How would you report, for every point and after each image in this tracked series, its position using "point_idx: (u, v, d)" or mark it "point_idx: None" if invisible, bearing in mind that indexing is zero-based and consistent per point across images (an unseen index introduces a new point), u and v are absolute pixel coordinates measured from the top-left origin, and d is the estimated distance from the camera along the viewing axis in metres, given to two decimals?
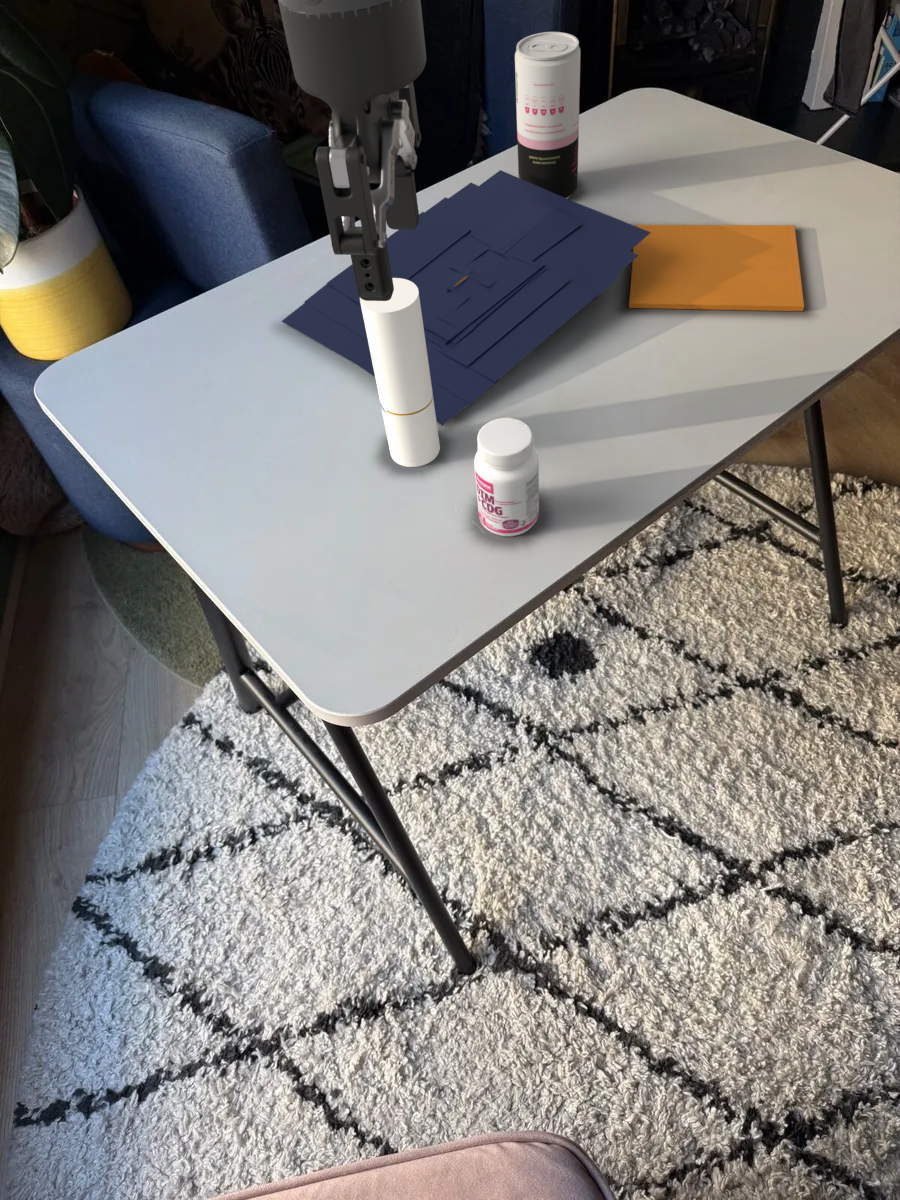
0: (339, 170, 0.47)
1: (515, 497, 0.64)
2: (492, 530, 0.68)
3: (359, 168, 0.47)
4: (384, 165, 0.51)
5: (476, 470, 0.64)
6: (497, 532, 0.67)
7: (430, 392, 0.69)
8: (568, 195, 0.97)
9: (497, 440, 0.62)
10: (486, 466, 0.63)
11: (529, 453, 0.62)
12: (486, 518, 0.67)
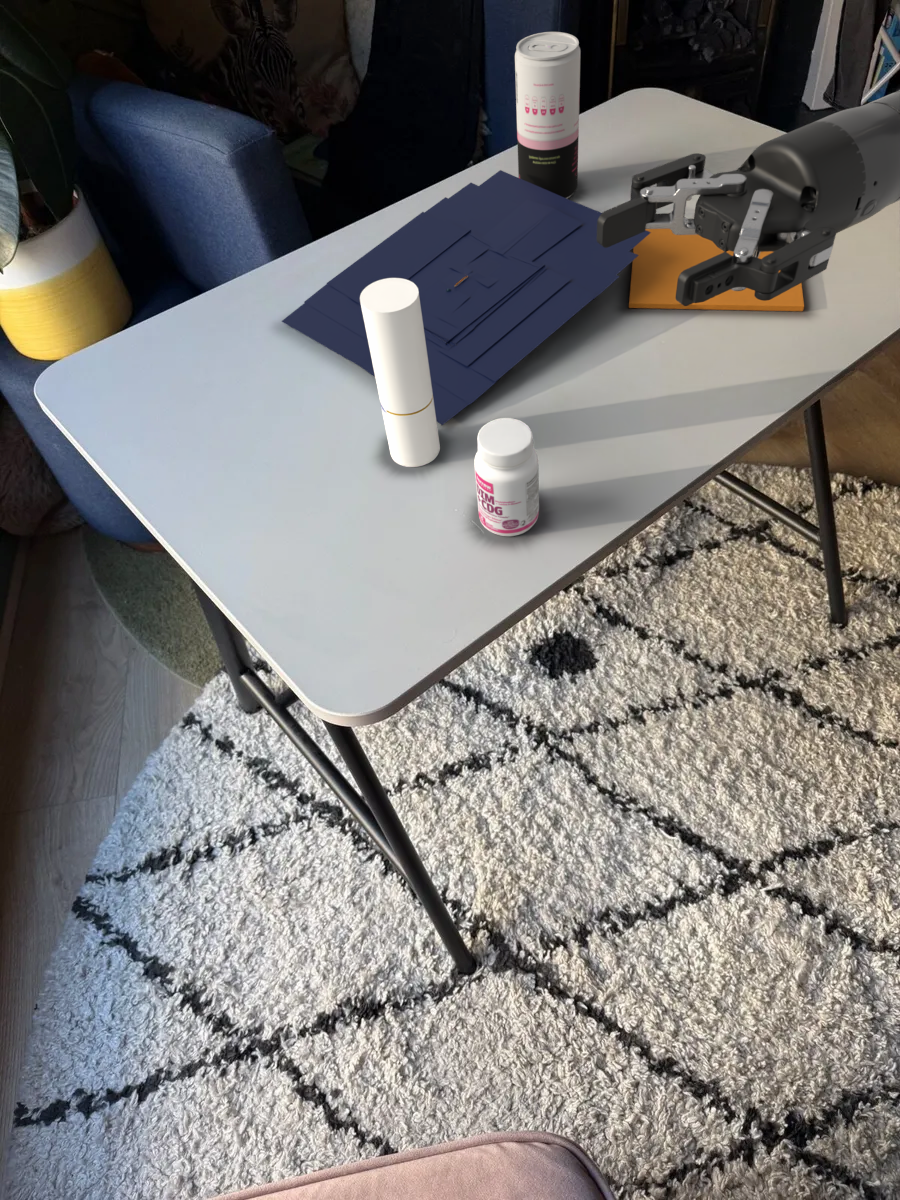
0: None
1: (515, 497, 0.64)
2: (492, 530, 0.68)
3: (688, 156, 0.63)
4: None
5: (476, 470, 0.64)
6: (497, 532, 0.67)
7: (430, 392, 0.69)
8: (568, 195, 0.97)
9: (497, 440, 0.62)
10: (486, 466, 0.63)
11: (529, 453, 0.62)
12: (486, 518, 0.67)
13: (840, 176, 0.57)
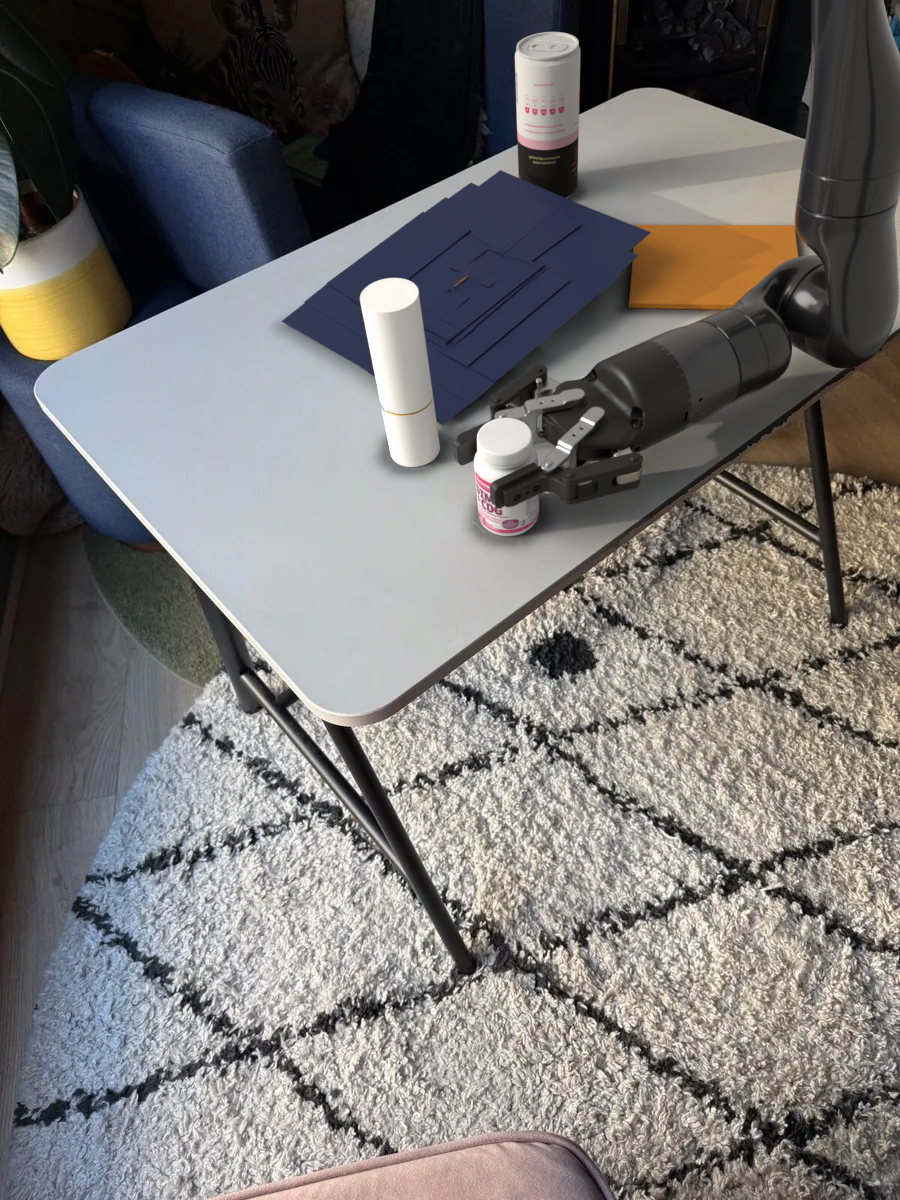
0: None
1: None
2: (492, 530, 0.68)
3: (531, 368, 0.69)
4: None
5: (476, 470, 0.64)
6: (497, 532, 0.67)
7: (430, 392, 0.69)
8: (568, 195, 0.97)
9: (496, 440, 0.62)
10: (486, 466, 0.63)
11: (529, 453, 0.62)
12: (486, 518, 0.67)
13: (665, 397, 0.64)
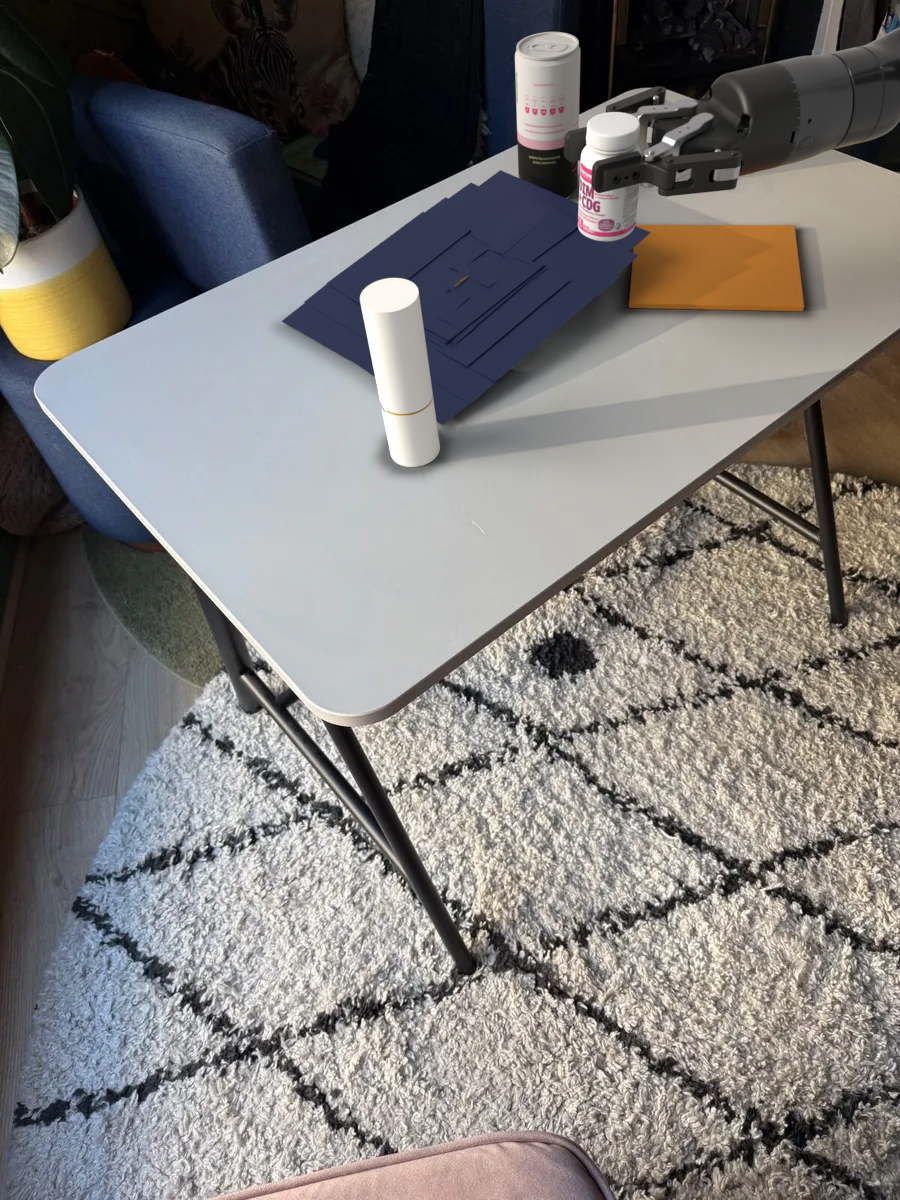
0: None
1: (614, 190, 0.68)
2: (588, 234, 0.72)
3: (651, 88, 0.72)
4: None
5: (581, 160, 0.68)
6: (592, 235, 0.72)
7: (430, 392, 0.69)
8: (568, 195, 0.97)
9: (605, 125, 0.66)
10: (591, 154, 0.67)
11: (634, 141, 0.66)
12: (584, 220, 0.71)
13: (775, 109, 0.66)
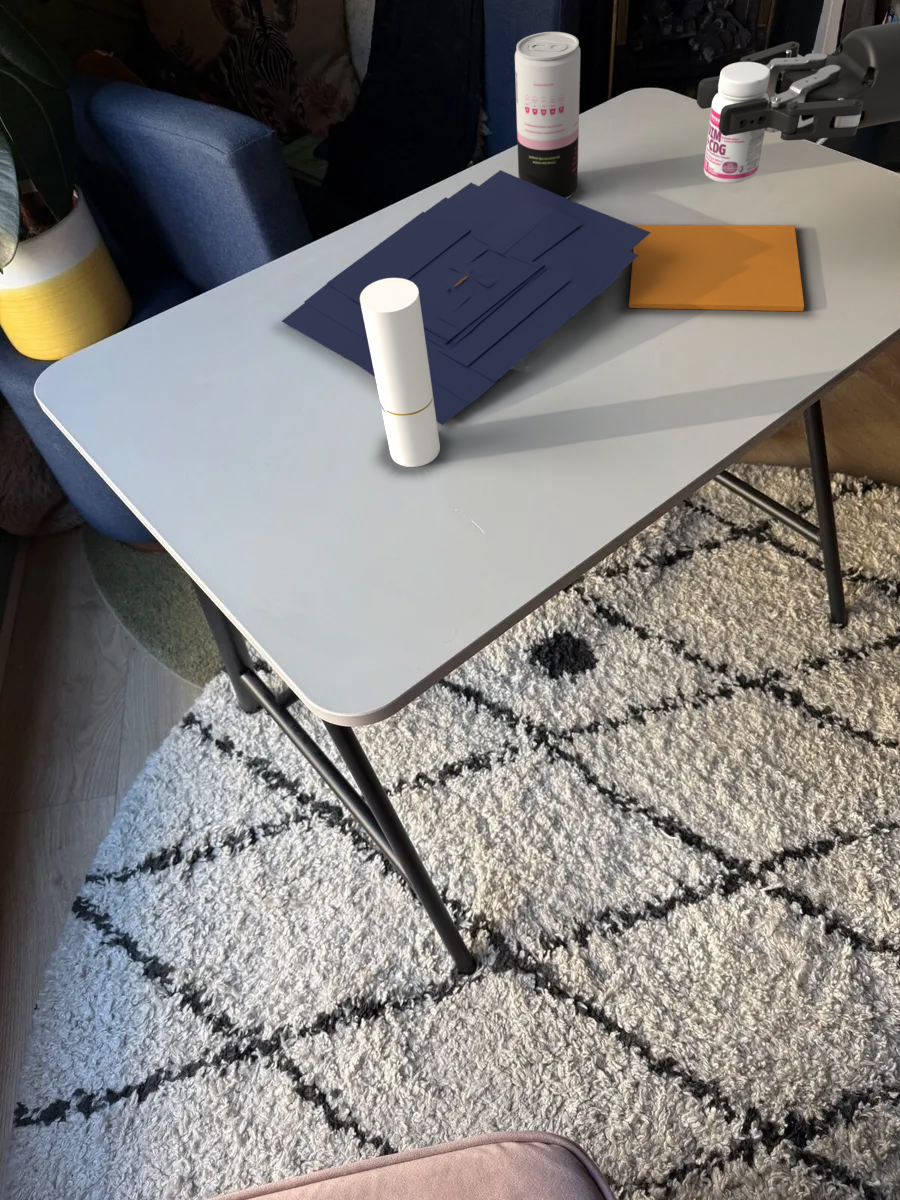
0: None
1: (739, 134, 0.75)
2: (712, 176, 0.78)
3: (785, 43, 0.78)
4: None
5: (712, 106, 0.75)
6: (716, 177, 0.78)
7: (430, 392, 0.69)
8: (568, 195, 0.97)
9: (737, 73, 0.73)
10: (722, 99, 0.74)
11: (762, 88, 0.72)
12: (709, 162, 0.78)
13: None
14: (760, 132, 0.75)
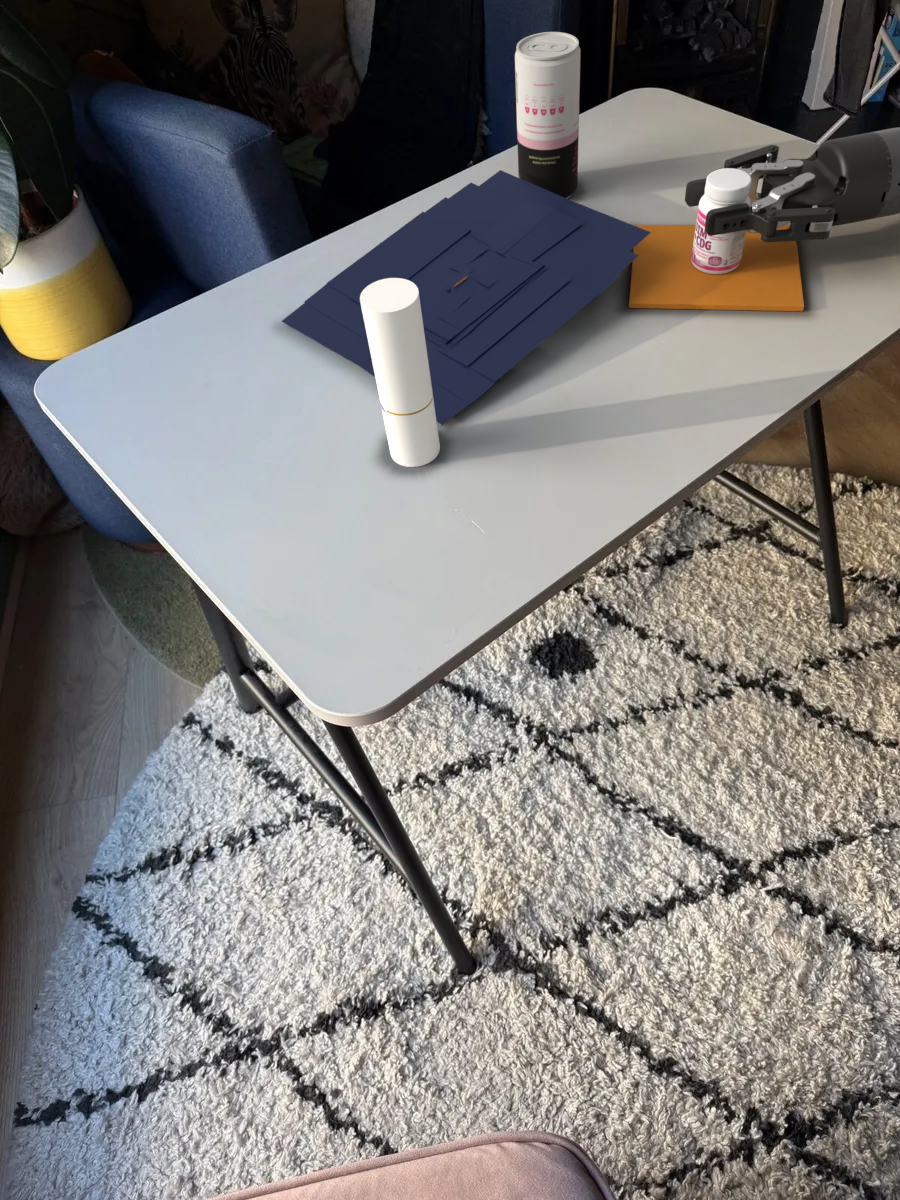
0: None
1: None
2: (699, 267, 0.85)
3: (766, 146, 0.85)
4: None
5: (699, 206, 0.82)
6: (702, 268, 0.85)
7: (430, 392, 0.69)
8: (568, 195, 0.97)
9: (722, 180, 0.80)
10: (708, 202, 0.81)
11: (744, 195, 0.79)
12: (696, 255, 0.85)
13: (869, 173, 0.79)
14: (742, 231, 0.82)
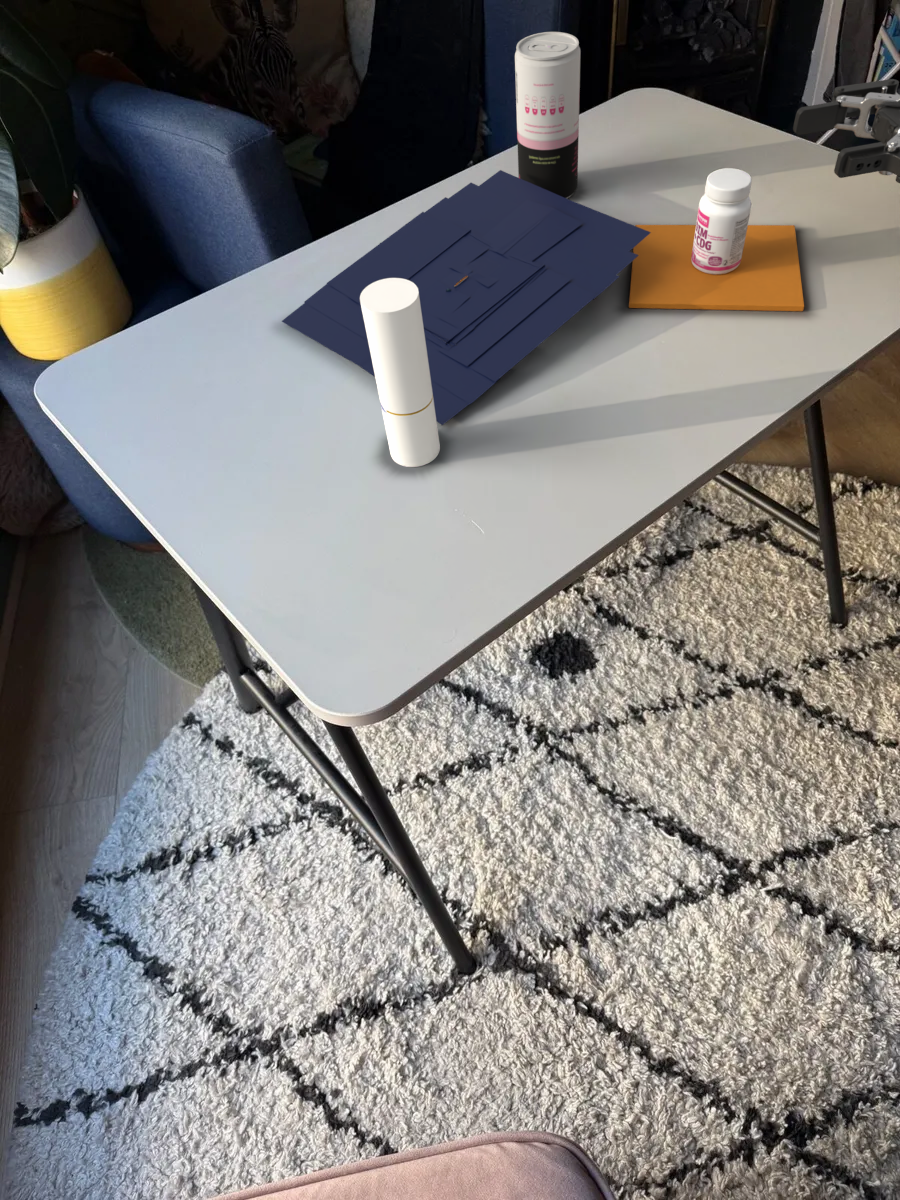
0: None
1: (724, 233, 0.82)
2: (699, 267, 0.85)
3: (886, 80, 0.81)
4: None
5: (699, 206, 0.82)
6: (702, 268, 0.85)
7: (430, 392, 0.69)
8: (568, 195, 0.97)
9: (722, 180, 0.80)
10: (708, 202, 0.81)
11: (745, 195, 0.79)
12: (696, 255, 0.85)
13: None
14: (743, 231, 0.82)
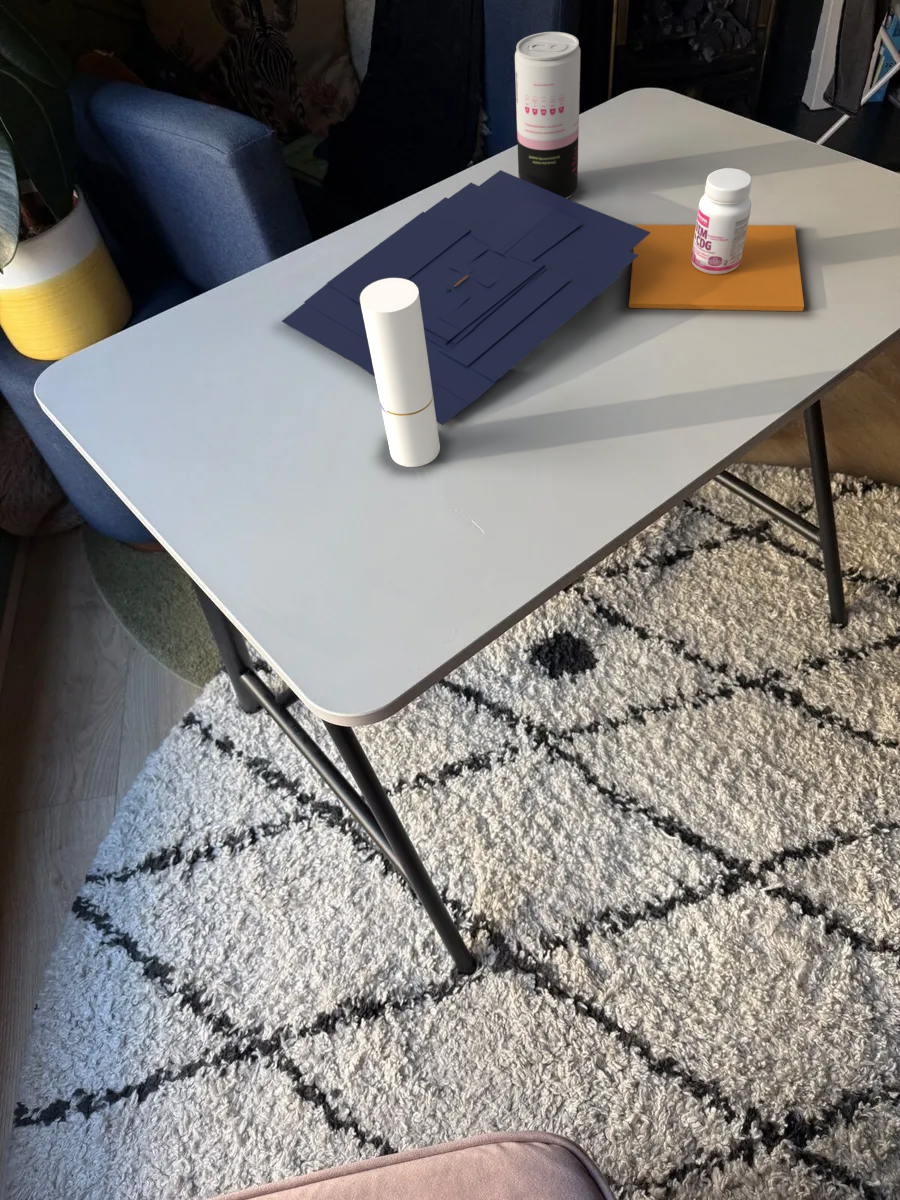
0: None
1: (724, 233, 0.82)
2: (699, 267, 0.85)
3: None
4: None
5: (699, 206, 0.82)
6: (702, 268, 0.85)
7: (430, 392, 0.69)
8: (568, 195, 0.97)
9: (722, 180, 0.80)
10: (708, 202, 0.81)
11: (745, 195, 0.79)
12: (696, 255, 0.85)
13: None
14: (743, 231, 0.82)
